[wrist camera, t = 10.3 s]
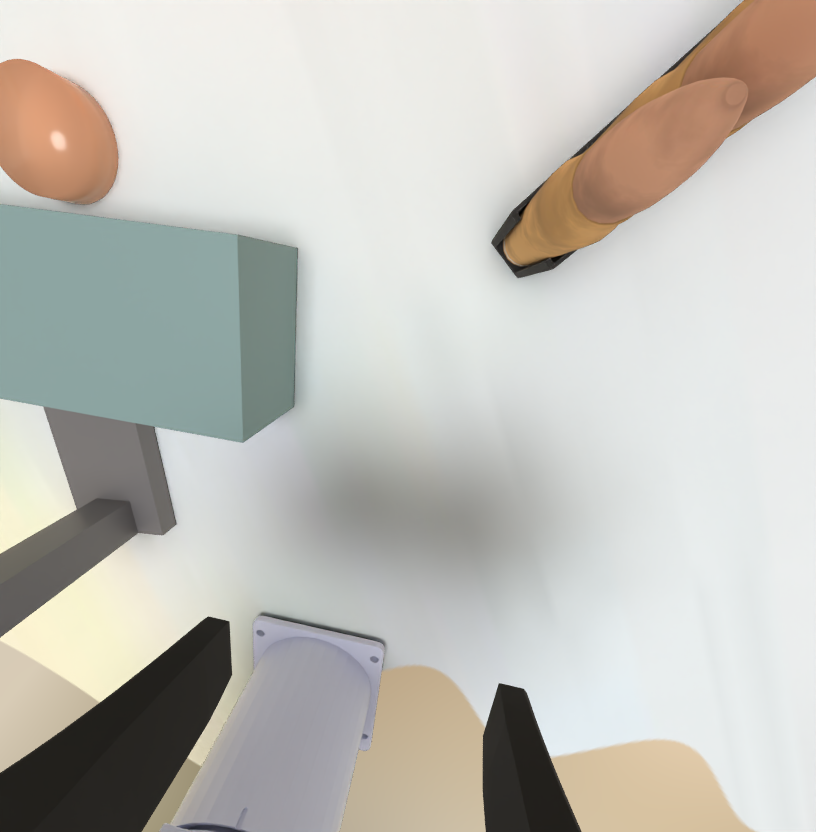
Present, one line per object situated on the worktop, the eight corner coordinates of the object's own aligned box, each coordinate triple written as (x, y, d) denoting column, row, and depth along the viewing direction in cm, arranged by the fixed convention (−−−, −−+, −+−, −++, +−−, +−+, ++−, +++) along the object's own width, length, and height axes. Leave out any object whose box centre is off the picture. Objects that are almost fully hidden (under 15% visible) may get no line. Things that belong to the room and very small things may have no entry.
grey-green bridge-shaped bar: (293, 406, 18) (243, 442, 14) (-69, 344, 20) (-209, 360, 16) (297, 248, 16) (237, 234, 11) (-115, 194, 17) (-295, 165, 13)
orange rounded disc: (128, 211, 16) (94, 204, 15) (37, 198, 17) (-4, 189, 15) (115, 87, 15) (76, 65, 13) (16, 75, 15) (-33, 53, 14)
